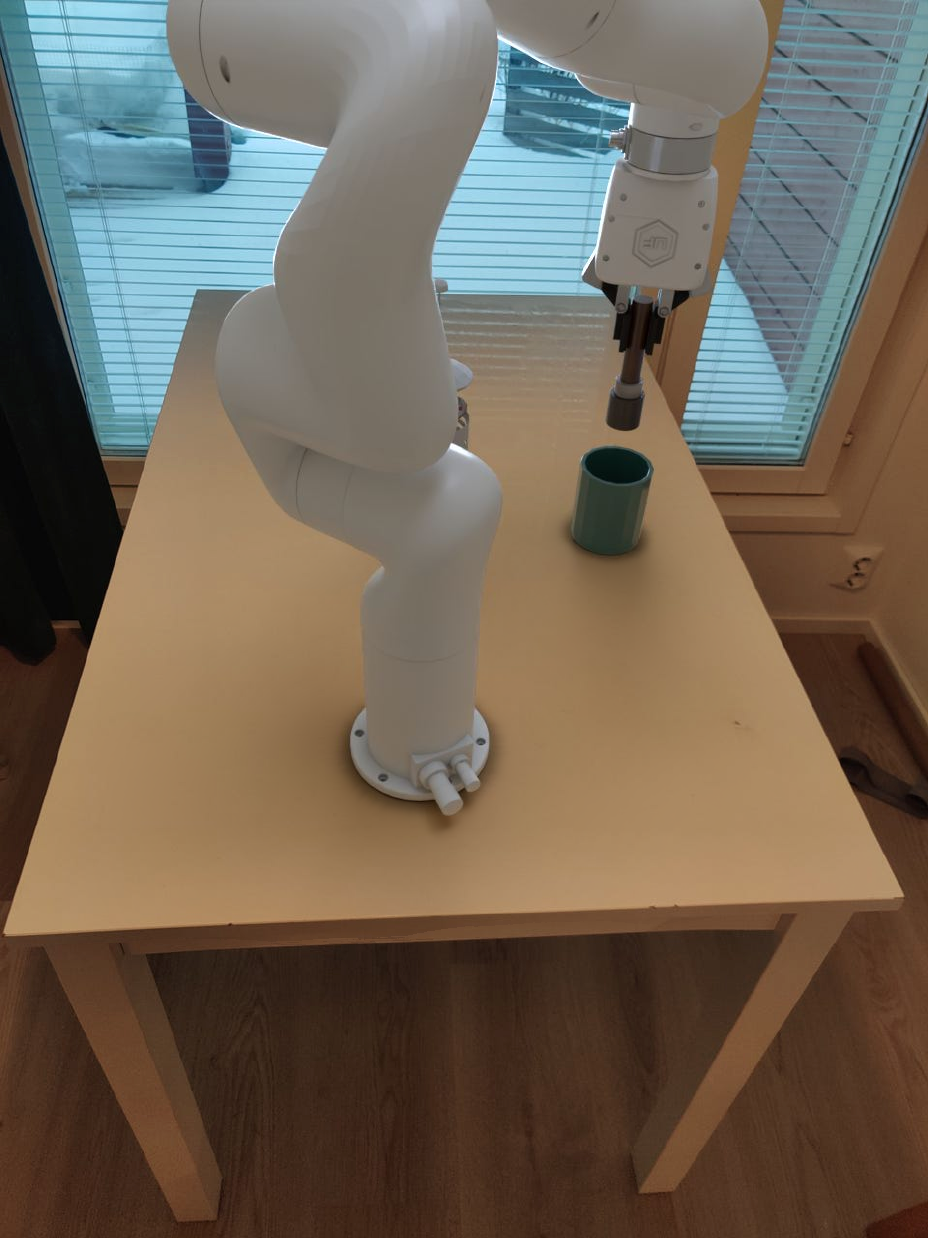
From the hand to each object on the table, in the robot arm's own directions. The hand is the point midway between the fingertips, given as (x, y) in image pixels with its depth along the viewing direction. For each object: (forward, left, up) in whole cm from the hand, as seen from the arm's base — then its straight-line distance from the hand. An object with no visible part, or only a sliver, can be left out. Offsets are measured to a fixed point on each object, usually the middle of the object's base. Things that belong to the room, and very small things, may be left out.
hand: (635, 346), depth 93 cm
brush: (0, 0, -9) cm, 9 cm away
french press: (+20, +12, -24) cm, 34 cm away
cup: (0, -1, -24) cm, 24 cm away
